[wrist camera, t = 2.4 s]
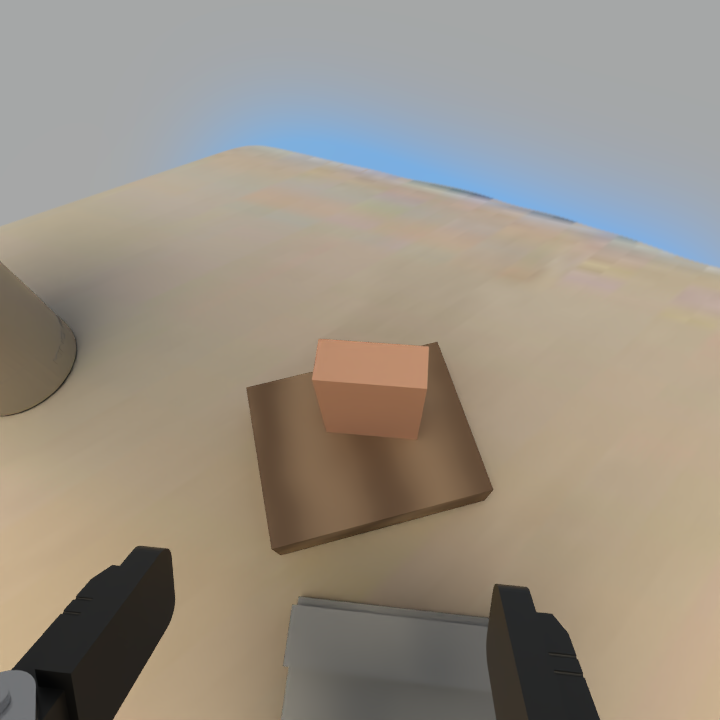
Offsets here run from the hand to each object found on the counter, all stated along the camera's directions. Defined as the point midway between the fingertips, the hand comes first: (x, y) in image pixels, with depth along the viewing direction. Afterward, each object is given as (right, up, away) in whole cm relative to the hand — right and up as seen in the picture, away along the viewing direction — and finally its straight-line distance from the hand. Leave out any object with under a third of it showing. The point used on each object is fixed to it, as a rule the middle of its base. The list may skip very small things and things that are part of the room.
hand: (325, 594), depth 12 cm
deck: (+1, -1, +23) cm, 23 cm away
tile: (+2, +2, +21) cm, 21 cm away
